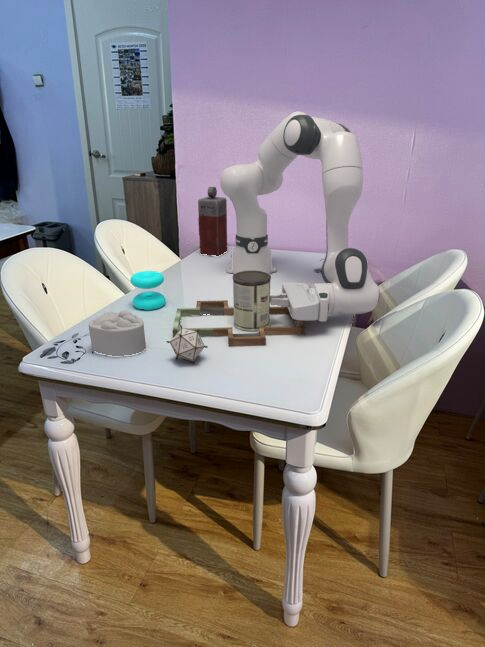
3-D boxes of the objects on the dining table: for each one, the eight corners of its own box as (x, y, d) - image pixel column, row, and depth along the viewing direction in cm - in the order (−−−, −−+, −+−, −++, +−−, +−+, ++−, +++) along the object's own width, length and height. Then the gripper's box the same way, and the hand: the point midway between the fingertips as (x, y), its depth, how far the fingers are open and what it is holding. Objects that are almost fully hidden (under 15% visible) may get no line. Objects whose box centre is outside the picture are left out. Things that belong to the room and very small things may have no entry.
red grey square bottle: (205, 249, 203) (202, 184, 191) (227, 252, 198) (226, 186, 187) (195, 254, 195) (192, 187, 184) (218, 257, 191) (216, 188, 180)
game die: (182, 370, 110) (169, 332, 112) (214, 358, 110) (200, 320, 111) (172, 370, 101) (158, 329, 103) (207, 357, 101) (192, 315, 102)
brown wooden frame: (179, 307, 138) (178, 301, 138) (292, 305, 140) (292, 299, 139) (170, 347, 113) (170, 340, 113) (308, 344, 115) (309, 337, 114)
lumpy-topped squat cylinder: (111, 335, 120) (107, 305, 117) (154, 342, 116) (151, 311, 113) (86, 352, 111) (81, 320, 108) (132, 361, 107) (129, 327, 104)
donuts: (153, 281, 130) (123, 277, 133) (155, 313, 134) (126, 309, 137) (169, 271, 139) (141, 268, 142) (171, 301, 143) (143, 298, 146)
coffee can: (241, 314, 133) (240, 268, 127) (274, 319, 130) (275, 272, 124) (227, 328, 124) (226, 279, 119) (262, 333, 121) (263, 283, 115)
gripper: (312, 276, 133) (266, 277, 133) (328, 301, 115) (274, 302, 114) (311, 296, 136) (265, 297, 135) (327, 324, 117) (274, 325, 116)
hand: (269, 300), depth 124 cm, fingers closed, pressing on coffee can
